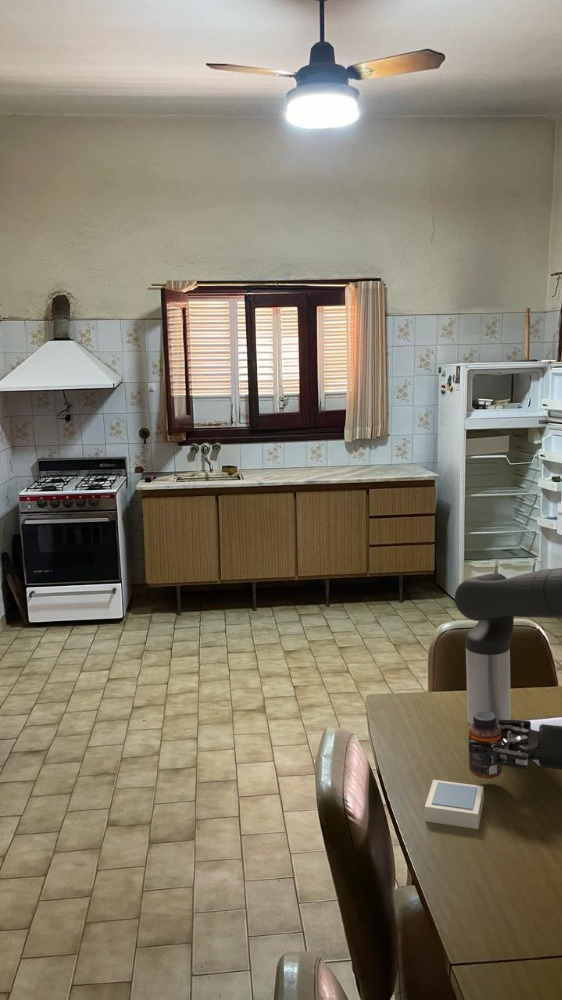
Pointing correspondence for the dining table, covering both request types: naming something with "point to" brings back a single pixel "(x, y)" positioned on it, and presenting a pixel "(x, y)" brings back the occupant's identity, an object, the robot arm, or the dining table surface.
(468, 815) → the plinth
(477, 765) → the supplement bottle
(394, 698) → the dining table surface
